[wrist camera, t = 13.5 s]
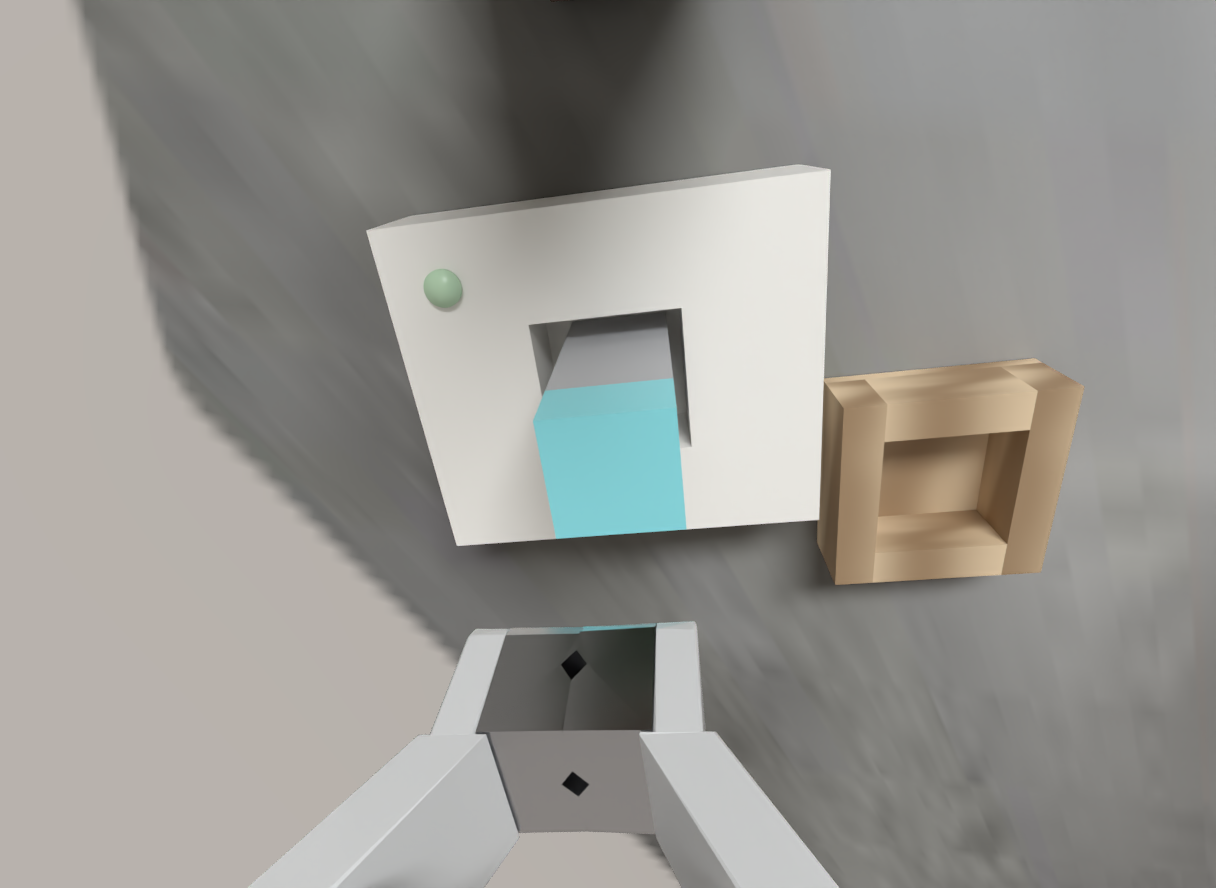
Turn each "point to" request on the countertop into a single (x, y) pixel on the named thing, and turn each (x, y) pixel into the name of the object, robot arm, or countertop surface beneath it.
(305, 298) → the countertop surface
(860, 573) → the square wooden tray
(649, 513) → the plug
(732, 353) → the port
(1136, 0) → the countertop surface
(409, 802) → the robot arm
